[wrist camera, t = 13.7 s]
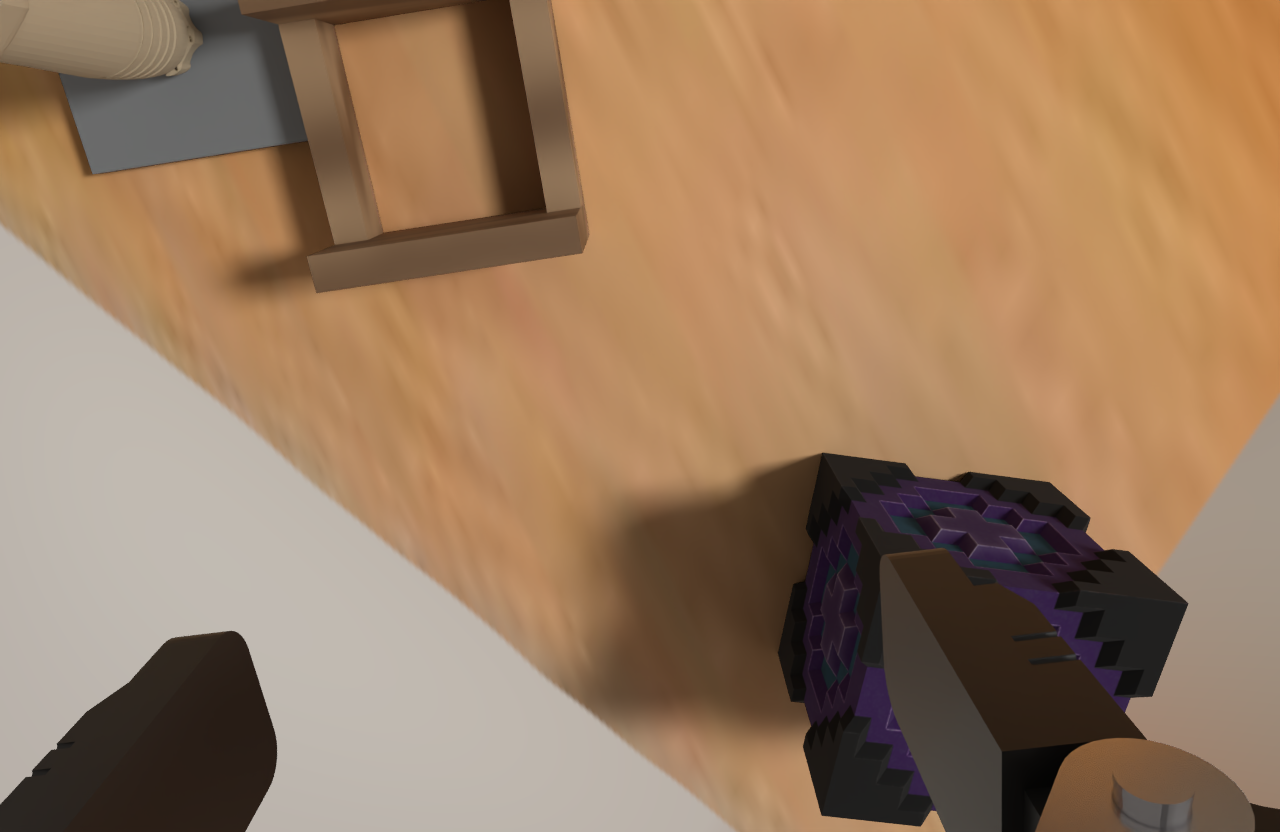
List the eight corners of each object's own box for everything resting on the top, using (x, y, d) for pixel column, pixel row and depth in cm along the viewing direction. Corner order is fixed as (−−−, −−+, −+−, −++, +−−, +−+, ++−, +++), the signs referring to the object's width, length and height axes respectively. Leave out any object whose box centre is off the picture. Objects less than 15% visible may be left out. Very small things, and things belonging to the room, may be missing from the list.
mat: (21, -71, 37) (8, -75, 36) (252, -111, 36) (244, -116, 35) (103, 173, 40) (92, 174, 39) (316, 139, 39) (310, 139, 39)
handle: (71, 10, 37) (-281, -59, 23) (202, -55, 36) (-77, -169, 22) (134, 121, 38) (-159, 122, 24) (262, 61, 38) (36, 25, 23)
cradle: (290, -8, 38) (229, -31, 32) (542, -49, 37) (526, -80, 31) (360, 269, 41) (316, 293, 36) (589, 234, 41) (582, 253, 35)
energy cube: (1049, 481, 45) (1188, 603, 34) (987, 677, 49) (1094, 845, 38) (822, 452, 45) (886, 565, 33) (777, 652, 48) (821, 815, 37)
